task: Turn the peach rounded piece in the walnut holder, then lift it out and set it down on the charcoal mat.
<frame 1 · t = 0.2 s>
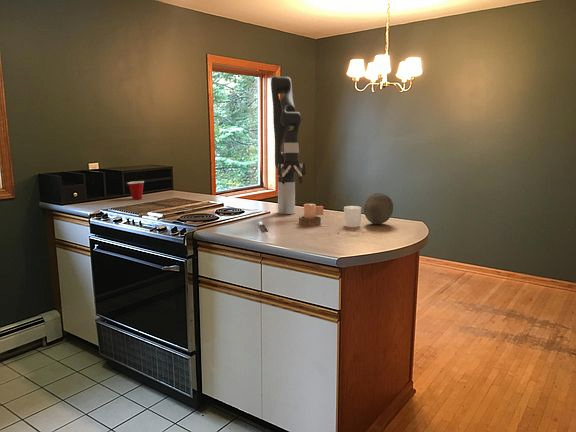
hand: (291, 184, 235), 17 cm above the worktop, tool pointing down, fingers open, 8 cm apart
charcoal mat: (273, 228, 211), on the worktop
walnut holder: (309, 226, 214), on the worktop
white cup: (352, 229, 209), on the worktop
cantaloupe: (377, 225, 218), on the worktop
peach rounded piece: (309, 223, 213), point 1 cm above the worktop, touching walnut holder
plastic cup: (136, 199, 308), on the worktop
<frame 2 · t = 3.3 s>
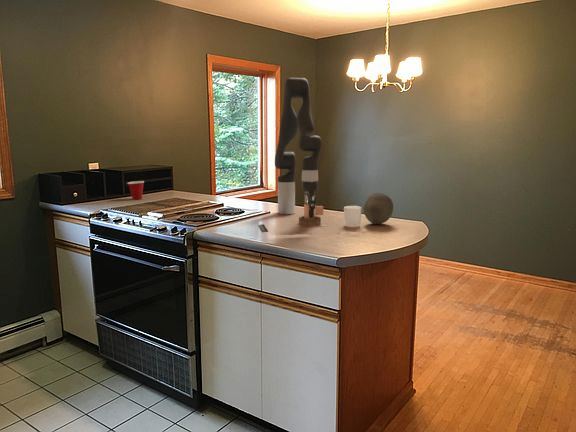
hand: (309, 216, 213), 5 cm above the worktop, tool pointing down, fingers closed on peach rounded piece, 5 cm apart
peach rounded piece: (309, 223, 213), point 2 cm above the worktop, touching gripper, walnut holder
everything else where it was.
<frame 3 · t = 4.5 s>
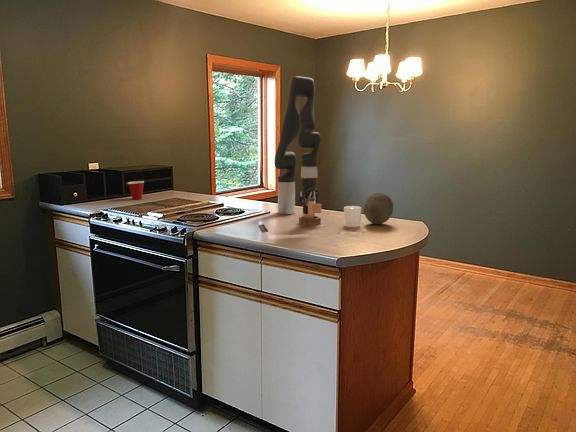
hand: (308, 212, 213), 7 cm above the worktop, tool pointing down, fingers closed on peach rounded piece, 5 cm apart
peach rounded piece: (308, 220, 213), point 3 cm above the worktop, touching gripper
everything else where it was.
when the fingers open (5 cm above the worktop, at t = 5.7 s): peach rounded piece stays where it is, resting on walnut holder.
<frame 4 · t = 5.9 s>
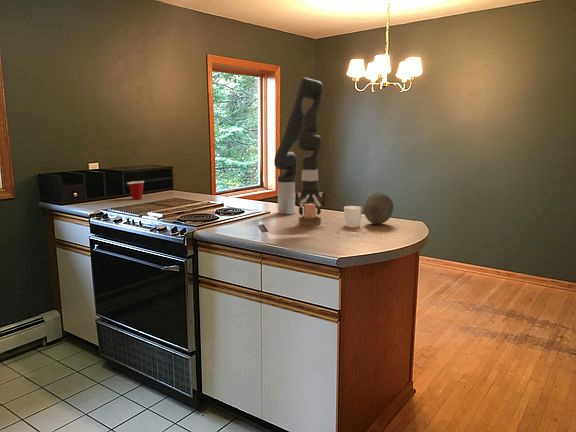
hand: (309, 214, 213), 6 cm above the worktop, tool pointing down, fingers open, 7 cm apart
peach rounded piece: (309, 223, 214), point 1 cm above the worktop, touching walnut holder
everything else where it was.
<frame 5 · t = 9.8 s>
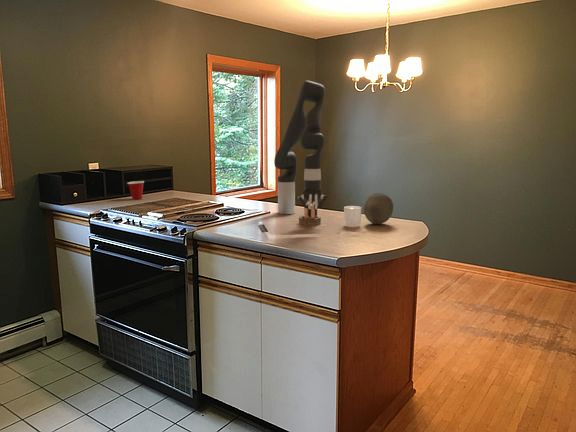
hand: (312, 216, 208), 6 cm above the worktop, tool pointing down, fingers closed on peach rounded piece
peach rounded piece: (309, 223, 213), point 2 cm above the worktop, touching gripper
everything else where it was.
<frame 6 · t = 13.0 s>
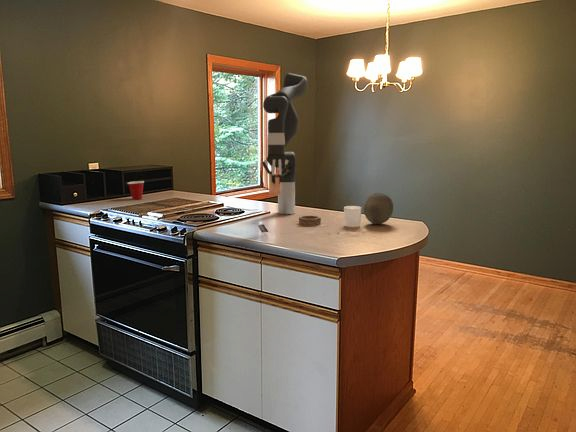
hand: (276, 183, 202), 21 cm above the worktop, tool pointing down, fingers closed on peach rounded piece
peach rounded piece: (275, 194, 207), point 16 cm above the worktop, touching gripper
everything else where it was.
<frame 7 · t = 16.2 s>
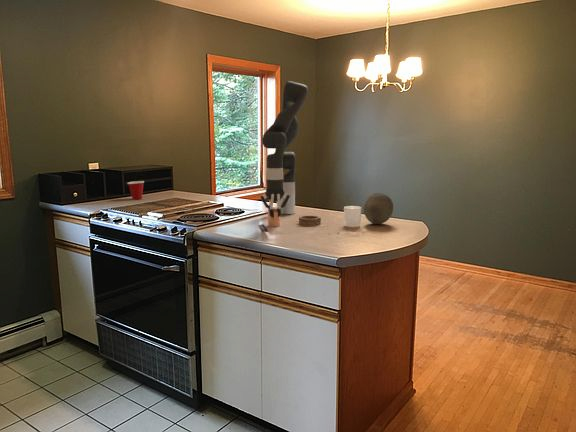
hand: (275, 216, 205), 6 cm above the worktop, tool pointing down, fingers closed
peach rounded piece: (274, 227, 209), point 1 cm above the worktop, touching charcoal mat
everything else where it was.
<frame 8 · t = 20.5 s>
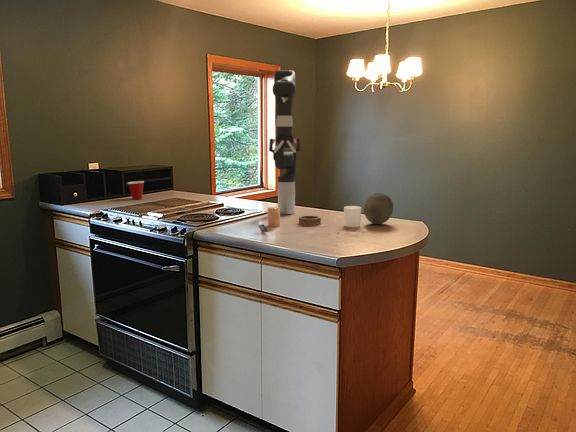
hand: (284, 160, 217), 30 cm above the worktop, tool pointing down, fingers open, 8 cm apart
nothing on the worktop moved.
at the end: peach rounded piece inside the target area (1.4 cm from its centre), point 0.6 cm above the worktop; peach rounded piece tilted 1°; the gripper is holding nothing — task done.
